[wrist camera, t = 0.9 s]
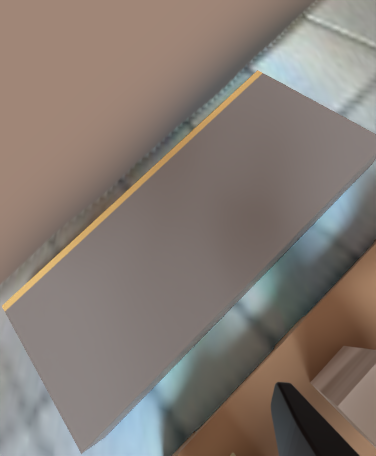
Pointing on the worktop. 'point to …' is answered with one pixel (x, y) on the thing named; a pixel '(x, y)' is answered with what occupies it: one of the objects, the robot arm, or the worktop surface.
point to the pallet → (309, 375)
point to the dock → (182, 249)
